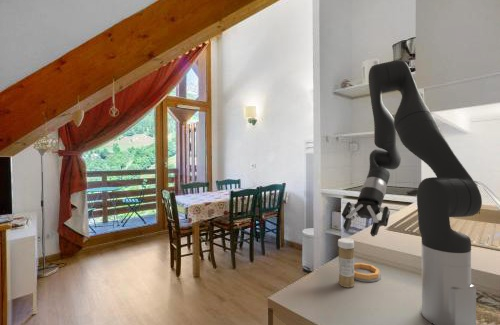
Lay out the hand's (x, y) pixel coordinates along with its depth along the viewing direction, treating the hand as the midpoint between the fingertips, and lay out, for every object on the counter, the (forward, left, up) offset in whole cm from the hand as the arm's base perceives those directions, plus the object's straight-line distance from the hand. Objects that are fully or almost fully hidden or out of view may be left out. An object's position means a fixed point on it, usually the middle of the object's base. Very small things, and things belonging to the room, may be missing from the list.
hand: (358, 232), depth 85 cm
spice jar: (-4, +8, -14) cm, 17 cm away
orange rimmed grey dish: (0, -1, -14) cm, 14 cm away
